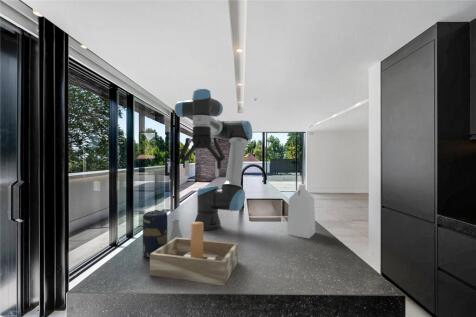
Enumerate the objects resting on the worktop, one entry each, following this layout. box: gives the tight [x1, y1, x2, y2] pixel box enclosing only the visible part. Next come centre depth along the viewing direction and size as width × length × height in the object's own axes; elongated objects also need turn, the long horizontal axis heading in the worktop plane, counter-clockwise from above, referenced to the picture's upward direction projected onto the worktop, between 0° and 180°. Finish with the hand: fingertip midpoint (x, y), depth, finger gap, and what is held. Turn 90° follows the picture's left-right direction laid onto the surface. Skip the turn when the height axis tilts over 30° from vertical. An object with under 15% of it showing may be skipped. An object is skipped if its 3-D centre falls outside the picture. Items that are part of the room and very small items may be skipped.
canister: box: [142, 209, 168, 258], centre depth 101 cm, size 10×10×18 cm
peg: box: [190, 221, 204, 259], centre depth 89 cm, size 4×4×16 cm
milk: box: [286, 183, 316, 239], centre depth 132 cm, size 12×12×26 cm
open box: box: [149, 237, 239, 286], centre depth 89 cm, size 18×26×7 cm
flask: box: [167, 218, 184, 243], centre depth 117 cm, size 7×7×10 cm
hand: (201, 176), depth 106 cm, fingers open, 13 cm apart
